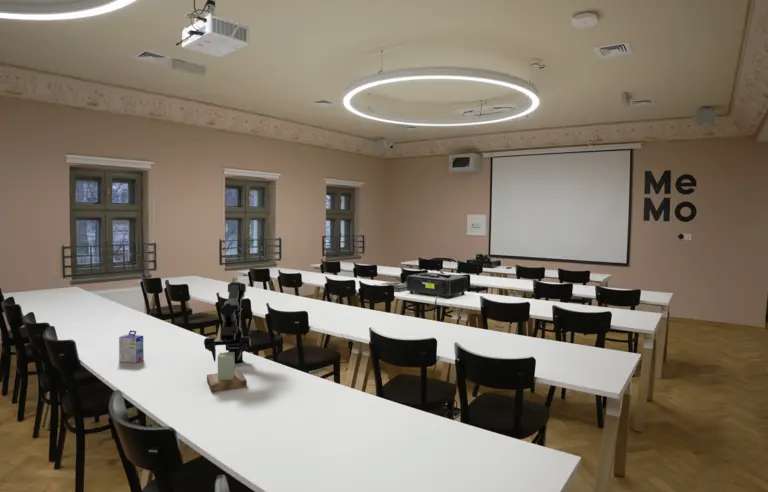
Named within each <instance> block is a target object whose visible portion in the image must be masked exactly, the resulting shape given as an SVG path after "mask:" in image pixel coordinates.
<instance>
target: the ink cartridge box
mask: <svg viewBox="0 0 768 492" xmlns="http://www.w3.org/2000/svg"><path fill="white" fill-rule="evenodd" d="M144 355H145V354H144V335H139V334H137V330H129V332H128V334H125V335H120V336H119V337H118V361H119V362H120V363H121V362H122V363H134V364H136V363H139V362H141V361H144Z"/></svg>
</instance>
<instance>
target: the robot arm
mask: <svg viewBox="0 0 768 492" xmlns="http://www.w3.org/2000/svg"><path fill="white" fill-rule="evenodd" d="M227 292H228V298H227V300H225V301H224V303H223V306H221V309H220V316H221V319H222V322H223V323H222V326H221V327H220V330H219V331H220V332H219V335H220V336H219V339H220V340H216V339H215V337H206V338H204V340H203V345H204V348H205V350H207V351H208V352H211V355H212V358H213V359H212V360H213V362H214V363H215V362H216V360H217V359H216V358H217V355H216V353H217V352H216V346H225V352H235V364H238V363H239V364H241V363H244V360H243V358H244V357H243V354H244V352H245V351H246V350H248V349H250V348H251V342H252V341H251V337H250V336H243V333H242V331H241V313H242V308H241V307H242V301H243V299H244V298H245V293H246V292H247V284H245V283H243V282H240V281H232V282H229V283H228V284H227Z"/></svg>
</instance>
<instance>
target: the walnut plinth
mask: <svg viewBox="0 0 768 492" xmlns="http://www.w3.org/2000/svg"><path fill="white" fill-rule="evenodd" d="M247 381H248V380H247V378H246V377H245V375H244V373H243V372H242V371H241V369H239V370H238V369H237V370H235V375H234V378H233V380H218V372H217V373H211V374H206V383H207V385H208V388H209V390H210V393H211V394H212V393H218V392H226V391H232V390H239V389H244V388H248V386H247V385H248V382H247Z"/></svg>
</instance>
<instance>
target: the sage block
mask: <svg viewBox="0 0 768 492" xmlns="http://www.w3.org/2000/svg"><path fill="white" fill-rule="evenodd" d="M235 364H236V363H235V352H228V351H225V352H223V351H222V352H219V354H218V356H217V373H218V380H233V378H234V375H235V371H236V370H235V366H236V365H235Z"/></svg>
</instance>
